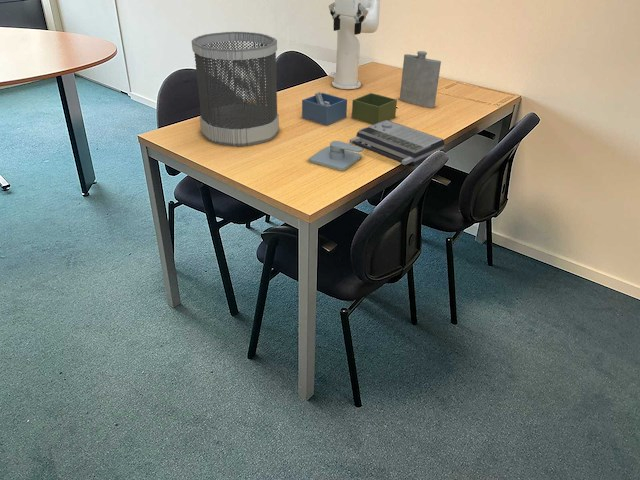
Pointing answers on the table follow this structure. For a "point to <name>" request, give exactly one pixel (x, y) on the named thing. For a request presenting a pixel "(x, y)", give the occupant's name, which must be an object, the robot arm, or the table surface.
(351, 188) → the table surface
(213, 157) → the table surface
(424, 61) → the hip flask
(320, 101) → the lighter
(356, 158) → the shower valve
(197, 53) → the wastebasket
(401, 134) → the radio
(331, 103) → the bin
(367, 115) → the bin
